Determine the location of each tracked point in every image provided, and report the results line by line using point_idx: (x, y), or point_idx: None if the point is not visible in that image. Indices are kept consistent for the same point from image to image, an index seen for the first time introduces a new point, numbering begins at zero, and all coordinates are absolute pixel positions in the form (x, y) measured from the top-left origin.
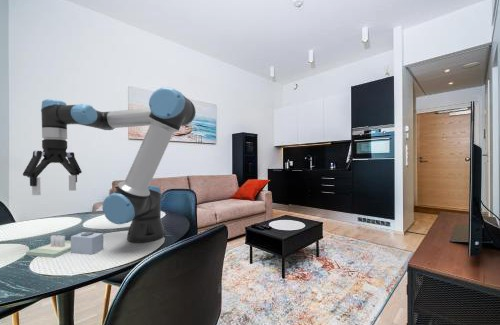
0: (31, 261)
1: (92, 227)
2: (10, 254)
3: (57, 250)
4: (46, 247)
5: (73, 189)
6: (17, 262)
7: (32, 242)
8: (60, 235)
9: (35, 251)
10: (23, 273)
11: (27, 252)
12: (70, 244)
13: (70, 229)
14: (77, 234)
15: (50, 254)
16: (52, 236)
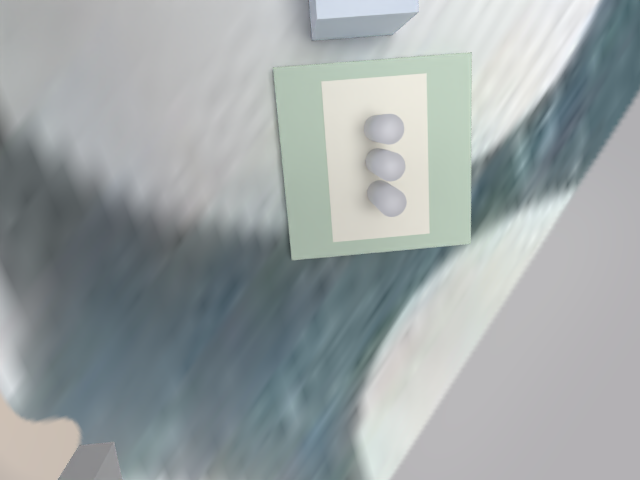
0: (520, 123)
1: (3, 362)
2: (471, 320)
3: (426, 93)
4: (407, 202)
5: (110, 471)
6: (538, 177)
7: (327, 404)
8: (378, 160)
9: (461, 199)
10: (630, 4)
11: (468, 235)
12: (338, 114)
13: None
14: (373, 4)
15: (469, 81)
16: (403, 194)
